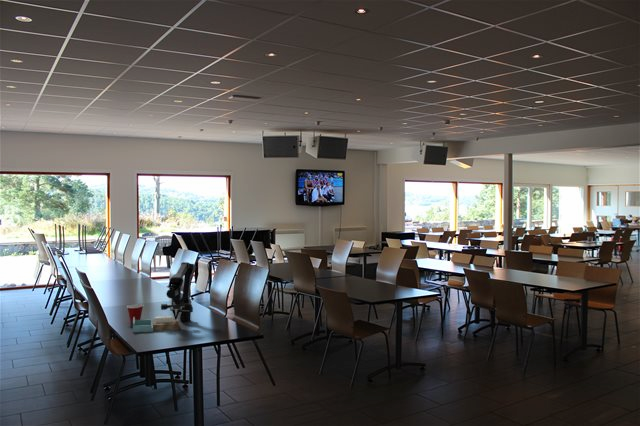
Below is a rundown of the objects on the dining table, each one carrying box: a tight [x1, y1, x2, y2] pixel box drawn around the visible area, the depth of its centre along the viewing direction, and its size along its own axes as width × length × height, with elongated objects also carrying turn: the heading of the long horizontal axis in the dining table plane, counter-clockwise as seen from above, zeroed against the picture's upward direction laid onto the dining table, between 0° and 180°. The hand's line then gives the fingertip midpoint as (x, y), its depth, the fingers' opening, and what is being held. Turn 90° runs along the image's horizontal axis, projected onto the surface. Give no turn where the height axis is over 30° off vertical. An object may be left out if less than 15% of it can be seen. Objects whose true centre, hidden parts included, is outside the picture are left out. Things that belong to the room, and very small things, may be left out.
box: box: [132, 317, 154, 334], centre depth 339 cm, size 12×18×6 cm, turn 19°
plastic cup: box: [126, 303, 145, 325], centre depth 355 cm, size 11×11×12 cm
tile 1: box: [154, 315, 164, 323], centre depth 342 cm, size 5×5×3 cm
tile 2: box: [163, 315, 174, 323], centre depth 344 cm, size 5×5×3 cm
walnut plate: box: [151, 317, 180, 332], centre depth 344 cm, size 16×16×4 cm
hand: (175, 319), depth 346 cm, fingers closed
